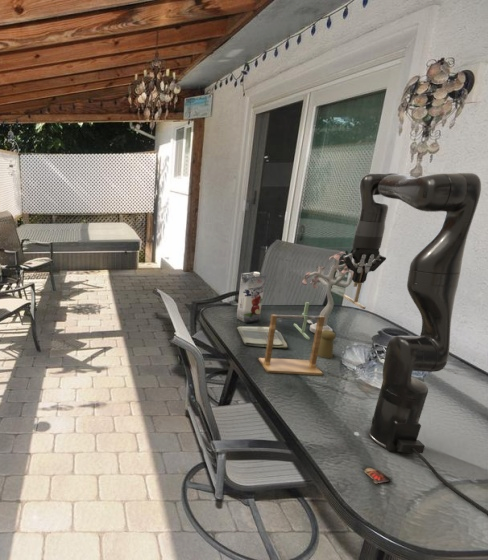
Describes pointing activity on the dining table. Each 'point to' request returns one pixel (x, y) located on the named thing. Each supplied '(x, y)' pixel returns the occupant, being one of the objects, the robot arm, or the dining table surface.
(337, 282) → the decorative tree
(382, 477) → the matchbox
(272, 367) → the rack
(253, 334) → the pale green square plate
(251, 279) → the juice carton
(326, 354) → the cork
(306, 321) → the hanger
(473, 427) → the dining table surface
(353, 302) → the hanger
